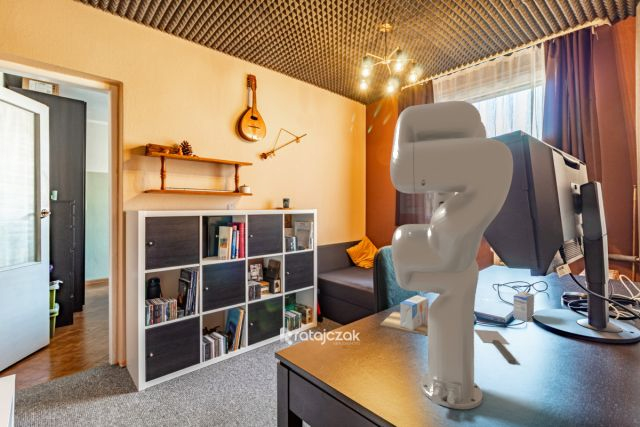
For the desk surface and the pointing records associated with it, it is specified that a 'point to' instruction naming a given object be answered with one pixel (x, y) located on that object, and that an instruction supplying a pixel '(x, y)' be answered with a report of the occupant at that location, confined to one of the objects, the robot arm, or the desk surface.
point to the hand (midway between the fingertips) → (444, 242)
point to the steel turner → (496, 343)
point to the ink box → (414, 312)
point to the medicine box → (523, 306)
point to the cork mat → (394, 323)
